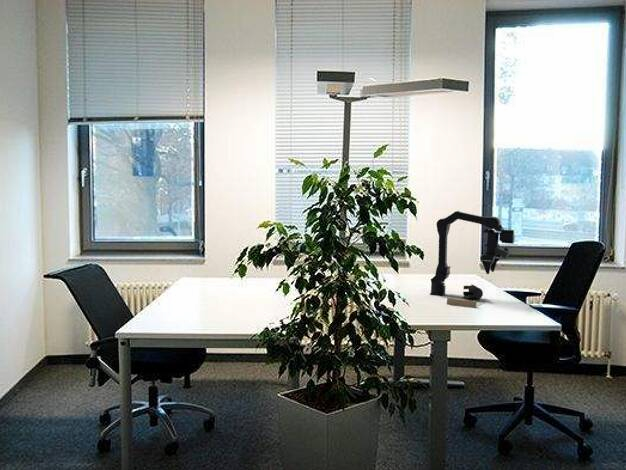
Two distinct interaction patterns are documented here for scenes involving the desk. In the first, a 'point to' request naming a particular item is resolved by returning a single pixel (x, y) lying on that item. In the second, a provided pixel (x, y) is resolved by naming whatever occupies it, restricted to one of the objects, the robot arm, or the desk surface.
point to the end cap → (472, 293)
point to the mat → (463, 303)
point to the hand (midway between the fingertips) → (490, 272)
